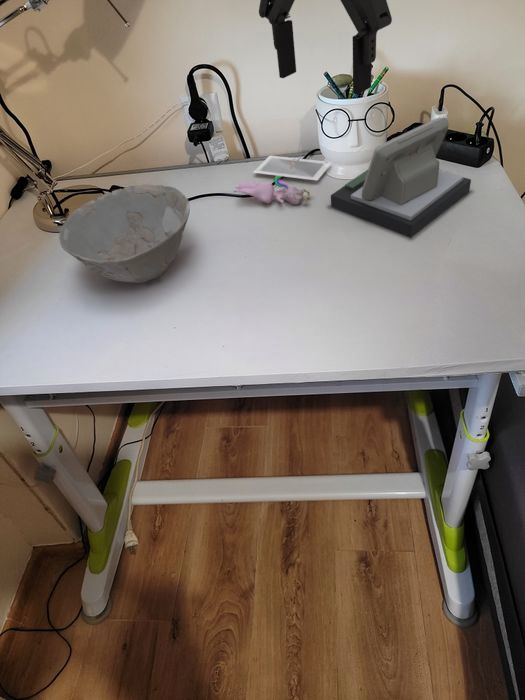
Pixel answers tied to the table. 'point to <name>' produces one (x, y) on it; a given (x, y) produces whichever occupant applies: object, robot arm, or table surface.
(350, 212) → the scale
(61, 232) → the ceramic bowl
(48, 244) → the table surface
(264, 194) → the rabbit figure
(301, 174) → the touchpad
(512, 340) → the table surface
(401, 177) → the digital clock
